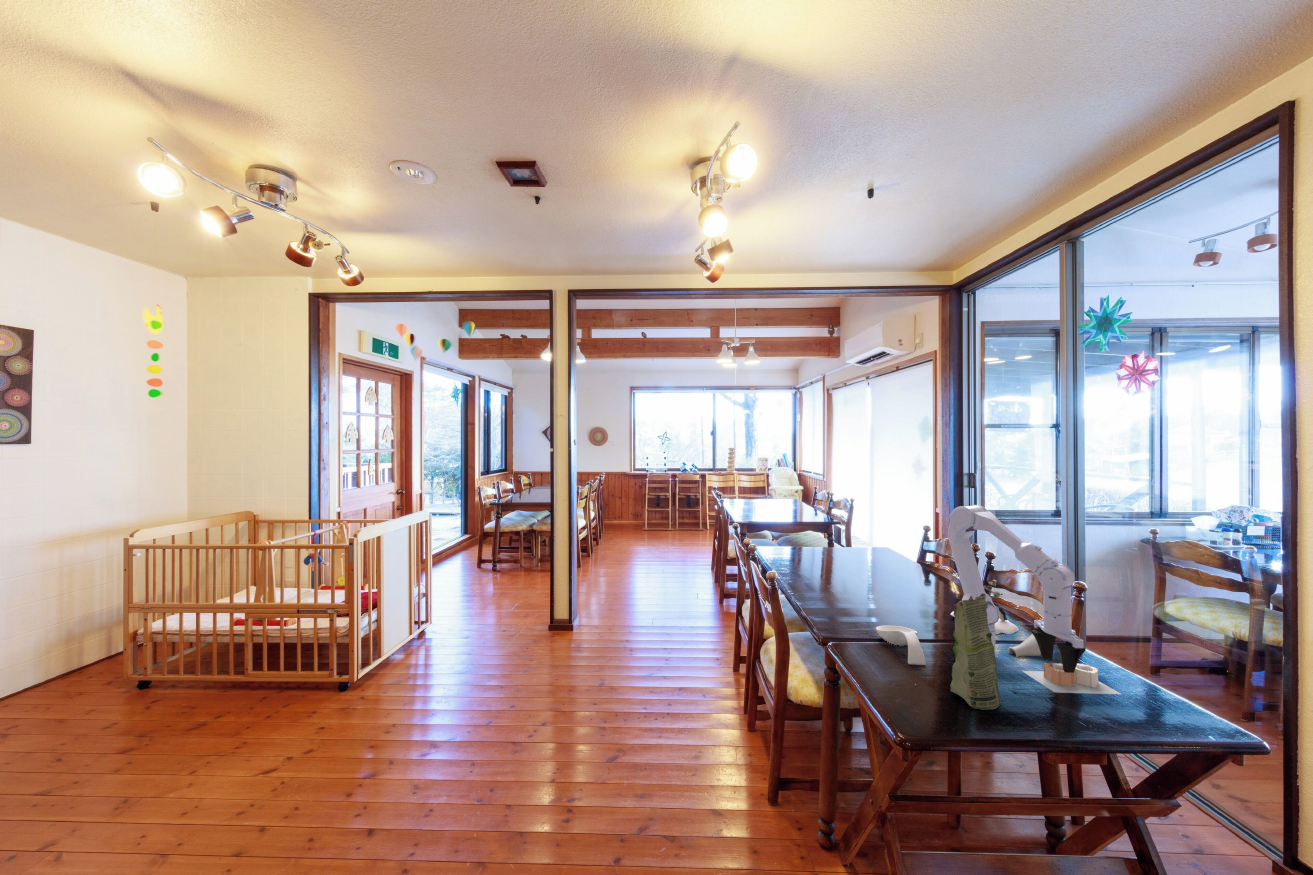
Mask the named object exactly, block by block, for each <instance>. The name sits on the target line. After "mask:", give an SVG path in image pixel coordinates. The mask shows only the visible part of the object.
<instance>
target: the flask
mask: <svg viewBox="0 0 1313 875" xmlns="http://www.w3.org/2000/svg"><path fill="white" fill-rule="evenodd" d="M1007 653H1008V654H1011V655H1012V654H1014V655H1015V658H1019V657H1041V658H1042V656H1041V653H1040V649H1039V646H1038V643H1037V641H1036V639H1035V637H1034V635H1033V634H1032V633H1031V634H1030V635H1029V636H1028V637H1027V638H1025V640H1023V641H1022V642H1021V643H1020V644H1018V645H1016V646H1008V648H1007Z"/></svg>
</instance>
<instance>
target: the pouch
mask: <svg viewBox="0 0 1313 875" xmlns="http://www.w3.org/2000/svg"><path fill="white" fill-rule="evenodd" d="M985 598H986V595H985V594H984V593H982V594H981V595H980V596H979V597H975V599H974V600H973V597H972V596H970V598H969V600H962V599H961V600H959V601H957V603H955V604H953V608H954V610H953V611H954V616H955V617H954V616H953V618H954V631H953V634H952V636H953V637H954V640H955V641H954V645H953V646H952V651H953V654H954V655H955V662H954V663H953V664H952V666H951V670H952V671H951V677H952V679H951V683H950V692H951V693H954V694H956V695H957V696H959V697H961V698H962V699H964V701H965V702H966V703H967V704H968V705H969V707H971V708H972V709H977V710H984V711H985V710H986V711H988V710H995V709H997V708H999V707H1000V705H1001V704H1002V703H1001V696H1000V691H999V681H998V675H997V668H996V667H997V660H996V650H995V651H994V646H993V644H992V640H991V636H992V634H991V632H990V630H989V627H988V619H987V617H988V616H987V611H986V610H987V608H988V606H987V602H986V600H985Z"/></svg>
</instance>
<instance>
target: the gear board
mask: <svg viewBox="0 0 1313 875" xmlns="http://www.w3.org/2000/svg"><path fill="white" fill-rule="evenodd" d="M1053 663H1054V664H1053V668H1055V669H1059V670H1063V666H1062V665H1060V664H1061V663H1060V664H1059V663H1058V664H1055V663H1056V662H1053ZM1078 664H1079V669H1082V670H1085V671H1089V666H1090V665H1088V666H1087V664H1084V665H1083V663H1078ZM1022 672H1023V673H1024V674H1025V675H1027V676H1029V677H1030V678H1032V679H1033V680H1034V681H1036V682H1037V683H1039V684H1041V685H1042V686H1044V687H1045V688H1047V689H1049V691H1051V692H1053V693H1058V694H1059V693H1060V694H1062V693H1063V694H1093V695H1096V694H1097V695H1123V694H1122V693H1121V692H1119V691H1118V690H1116V689H1115V688H1112V687H1111V686H1108V685H1107V684H1105V683H1103V682H1101V681H1099V680H1098V685H1097V686H1096V687H1091V686H1085V685H1082V684H1078V683H1076V682H1075V685H1074V686H1073V685H1071V686H1063V685H1056V684H1054V683H1052V682H1050V681H1048V680H1047V679H1046V678H1045V677H1044V670H1036V671H1035V670H1022Z"/></svg>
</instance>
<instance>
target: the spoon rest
mask: <svg viewBox="0 0 1313 875" xmlns="http://www.w3.org/2000/svg"><path fill="white" fill-rule="evenodd" d="M875 630H876V632H877V634H878V635H879V636H880V638H882V639H883V640H884V641H885V642H886V641H887V642H886V643H888V642H889V643H888V644H890V643H891V644H890V645H892V644H894V645H893V646H897V645H899V647H904V645H905V646H907V664H908V665H915V666H926V663H927V662H926V657H925V653H924V651H923V647H922V644H921V642H920V640H919V638H918V631H916V630H915V629H912V628H910V627H906V626H900V625H892V624H891V625H890V624H889V625H886V624H885V625H879V626H876V627H875Z"/></svg>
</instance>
